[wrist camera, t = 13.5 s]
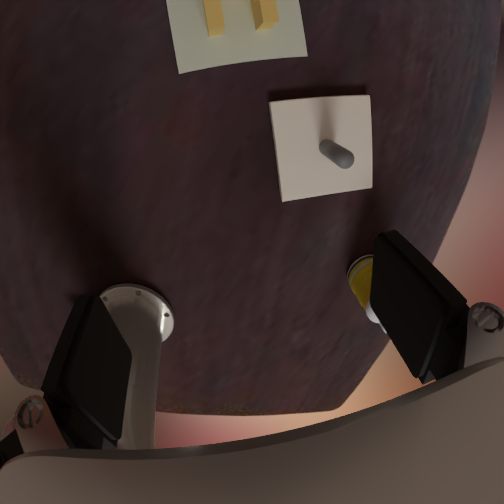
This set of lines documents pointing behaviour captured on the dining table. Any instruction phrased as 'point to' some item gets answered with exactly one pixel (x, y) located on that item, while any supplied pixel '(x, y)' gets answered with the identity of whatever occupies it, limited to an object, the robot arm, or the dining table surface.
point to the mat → (233, 34)
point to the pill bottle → (363, 284)
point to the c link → (262, 13)
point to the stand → (322, 145)
